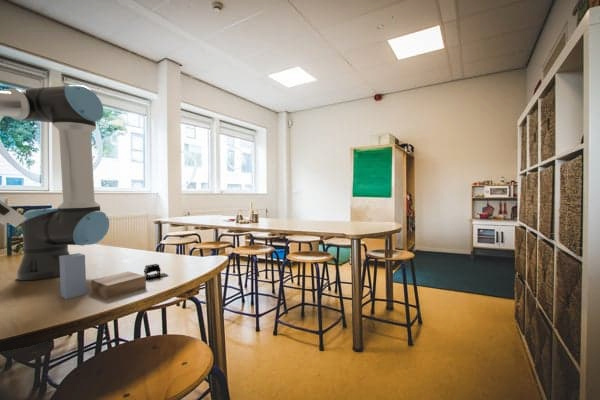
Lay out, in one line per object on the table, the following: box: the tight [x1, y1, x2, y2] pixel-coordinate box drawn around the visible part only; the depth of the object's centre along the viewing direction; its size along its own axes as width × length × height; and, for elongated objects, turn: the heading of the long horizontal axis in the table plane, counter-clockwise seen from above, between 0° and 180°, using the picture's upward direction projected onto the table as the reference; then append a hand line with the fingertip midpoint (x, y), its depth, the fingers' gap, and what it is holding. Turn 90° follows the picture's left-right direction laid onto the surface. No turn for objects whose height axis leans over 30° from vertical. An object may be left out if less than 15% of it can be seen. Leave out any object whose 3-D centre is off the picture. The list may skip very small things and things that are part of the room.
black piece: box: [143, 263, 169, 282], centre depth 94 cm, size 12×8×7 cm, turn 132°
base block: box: [91, 271, 147, 300], centre depth 81 cm, size 10×10×4 cm
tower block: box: [59, 252, 87, 300], centre depth 78 cm, size 4×4×11 cm
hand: (14, 221), depth 69 cm, fingers open, 13 cm apart
